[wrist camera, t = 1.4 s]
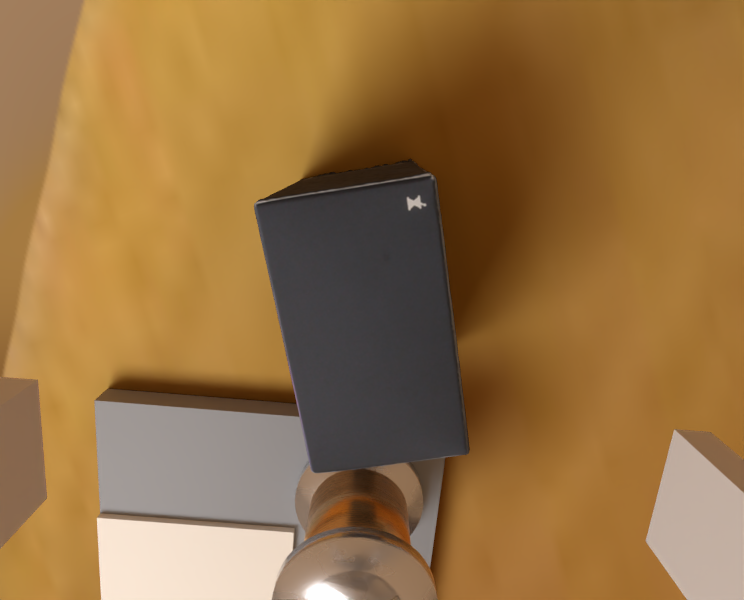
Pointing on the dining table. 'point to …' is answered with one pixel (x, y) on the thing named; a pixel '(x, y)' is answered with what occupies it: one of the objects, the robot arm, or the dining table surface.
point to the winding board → (206, 495)
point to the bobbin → (357, 537)
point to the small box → (366, 316)
